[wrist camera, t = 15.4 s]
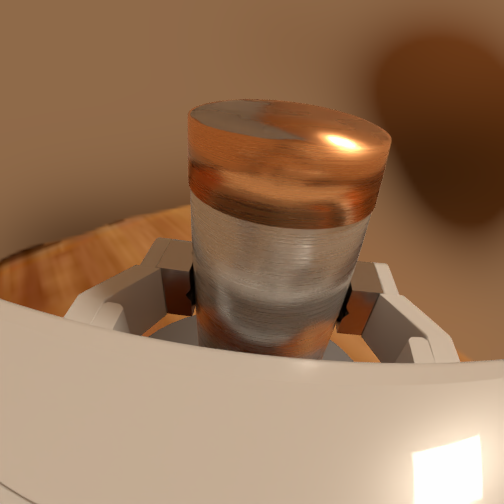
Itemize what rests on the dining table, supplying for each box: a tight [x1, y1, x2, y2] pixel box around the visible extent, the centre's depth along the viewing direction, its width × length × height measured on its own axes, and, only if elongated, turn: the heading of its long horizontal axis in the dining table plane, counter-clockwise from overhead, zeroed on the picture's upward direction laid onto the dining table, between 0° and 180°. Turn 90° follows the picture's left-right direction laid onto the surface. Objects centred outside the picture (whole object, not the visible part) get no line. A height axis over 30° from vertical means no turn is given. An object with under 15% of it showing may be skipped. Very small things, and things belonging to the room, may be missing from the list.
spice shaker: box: [188, 99, 391, 360], centre depth 10 cm, size 5×5×11 cm
